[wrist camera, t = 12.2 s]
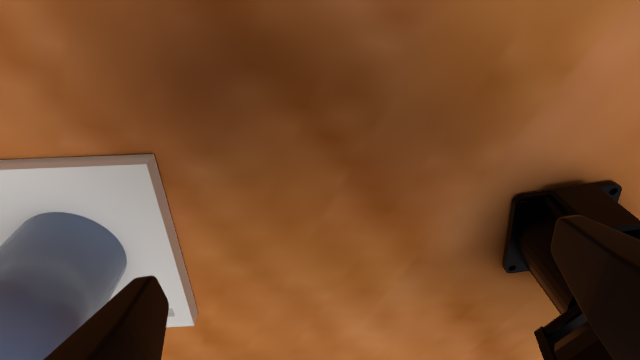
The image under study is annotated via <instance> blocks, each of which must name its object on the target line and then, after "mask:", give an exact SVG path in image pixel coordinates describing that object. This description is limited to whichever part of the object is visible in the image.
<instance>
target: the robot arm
mask: <svg viewBox="0 0 640 360" xmlns="http://www.w3.org/2000/svg"><path fill="white" fill-rule="evenodd" d="M611 189H612V190H611ZM621 191H622V188H621V186H620V185H619V184H617V183H616V182H614V181H610V182H603V183H596V184H589V185H582V186H575V187H568V188H560V189H554V190H547V191H540V192H533V193H526V194H520V195H517V196H516V197H515V198H514V199H513V201H512V207H511V213H510V220H509V226H508V233H507V239H506V246H505V252H504V259H503V268H504V270H505V271H506V272H507V273H517V272H524V271H530V272H531V274H532V275H533V276H534V278H535V279H536V281H537V282H538V283H539V285H540V286H541V288H542V289H543V290H544V292H545V293H546V294H547V296H548V297H549V299H550V300H551V301H552V303H553V304H554V306H555V307H556V308H557V310H558V311H559V313H560V314H561V315H560V316H558V317H557V318H556V319H554V320H553V321H551V322H550V323H549V324H547V325H546V326H545V327H542V326H541V327H540V328H539V329H537V330H536V331H535V332H534V334H535V336H536V339H537V341H538V344H539V348H540V351H541V353H542V356H543V358H544V360H640V220H639V219H637V218H636V217H635V216H634V215H632V214H631V213H630V212H628V211H627V210H626V209H625V208H623V207H622V206H621V205H620V204H618V200H619V197H620V194H621ZM522 201H524V202H523V203H521V202H522ZM520 203H521V204H520ZM168 312H169V303H168V299H167V297H166V295H165V293H164V291H163V289H162V287H161V285H160V284H159V282H158V280H157V278H156V277H155V276H151V275H150V276H143V277H137V278H135V279H133V280H132V281H131V282H130V283H128V284H127V285H126V286H125V287H124V288H123V289H122V290H121V291H119V292H118V293H117V294H116V295H115V296H114V297H113V298H112V299H110V300H109V301H108V302H107V303H106V304H105V305H104V306H103V307H102V308H100V309H99V310H98V311H97V312H96V313H95V314H94V315H93V316H91V317H90V318H89V319H88V320H87V321H86V322H85V323H84V324H82V325H81V326H80V327H79V328H78V329H77V330H76V331H75V332H73V333H72V334H71V335H70V336H69V337H68V338H67V339H66V340H64V341H63V342H62V343H61V344H60V345H59V346H58V347H57V348H55V349H54V350H53V351H52V352H51V353H50V354H49V355H48V356H47V357H45V358H44V359H43V360H161V357H162V350H163V344H164V337H165V331H166V325H167V318H168Z"/></svg>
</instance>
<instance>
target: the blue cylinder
mask: <svg viewBox="0 0 640 360" xmlns="http://www.w3.org/2000/svg"><path fill="white" fill-rule="evenodd" d="M126 265H127V258H126V253H125V251H124V248H123V246H122V245H121V243H120V242H119V240H118V239H117V238H116V237H115V236H114V235H113V234H112V233H111V232H110V231H109V230H108V229H106V228H105V227H103V226H102V225H100V224H99V223H97V222H95V221H93V220H91V219H88V218H86V217H83V216H80V215H76V214H72V213H64V212H49V213H43V214H39V215H36V216H33V217H31V218H29V219H28V220H26V221H25V222H24V223H23V224H22V225H21V226H20V227H19V228H18V229H17V230H16V231H15V232H14V233H13V234H12V235H11V236H10V237H9V238H8V239H7V240H6V241H5V242H4V243H3V244H2V245H1V246H0V360H43V359H44V358H45V357H47V356H48V355H49V354H50V353H51V352H52V351H53V350H54V349H55V348H57V347H58V346H59V345H60V344H61V343H62V342H63V341H64V340H66V339H67V338H68V337H69V336H70V335H71V334H72V333H73V332H75V331H76V330H77V329H78V328H79V327H80V326H81V325H82V324H84V323H85V322H86V321H87V320H88V319H89V318H90V317H91V316H93V315H94V314H95V313H96V312H97V311H98V310H99V309H100V308H102V307H103V306H104V305H105V304H106V303H107V302H108V301H109V300H110V298H111V296H112V294H113V292H114V291H115V289H116V287H117V285H118V283H119V281H120V279H121V278H122V276H123V274H124V272H125V269H126Z"/></svg>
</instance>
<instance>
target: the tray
mask: <svg viewBox="0 0 640 360" xmlns="http://www.w3.org/2000/svg"><path fill="white" fill-rule="evenodd" d="M49 212H64V213H72V214H76V215H80V216H83V217H86V218H88V219H91V220H93V221H95V222H97V223H99V224H100V225H102V226H103V227H105V228H106V229H108V230H109V231H110V232H111V233H112V234H113V235H114V236H115V237H116V238H117V239H118V240H119V242H120V243H121V245H122V246H123V248H124V251H125V253H126V258H127V265H126V269H125V272H124V274H123V276H122V278H121V279H120V281H119V283H118V285H117V287H116V289H115V291H114V292H113V294H112V296H111V298H110V299H112V298H113V297H114V296H115V295H116V294H117V293H118V292H119V291H121V290H122V289H123V288H124V287H125V286H126V285H127V284H128V283H130V282H131V281H132V280H133V279H135V278H137V277H143V276H150V275H151V276H155V277H156V278H157V280H158V282H159V284H160V285H161V287H162V289H163V291H164V293H165V295H166V297H167V299H168V303H169V312H168V318H167V325H166V327H181V326H194V324H195V321H196V317H197V314H198V310H197V307H196V303H195V300H194V296H193V293H192V289H191V285H190V282H189V278H188V275H187V271H186V267H185V264H184V260H183V257H182V253H181V249H180V246H179V242H178V239H177V235H176V232H175V228H174V224H173V221H172V217H171V214H170V210H169V206H168V203H167V199H166V196H165V192H164V188H163V185H162V181H161V178H160V174H159V171H158V167H157V163H156V160H155V156H154V154H137V155H111V156H85V157H59V158H32V159H6V160H0V246H1V245H2V244H3V243H4V242H5V241H6V240H7V239H8V238H9V237H10V236H11V235H12V234H13V233H14V232H15V231H16V230H17V229H18V228H19V227H20V226H21V225H22V224H23V223H24V222H25V221H26V220H28V219H29V218H31V217H33V216H36V215H39V214H43V213H49Z"/></svg>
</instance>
